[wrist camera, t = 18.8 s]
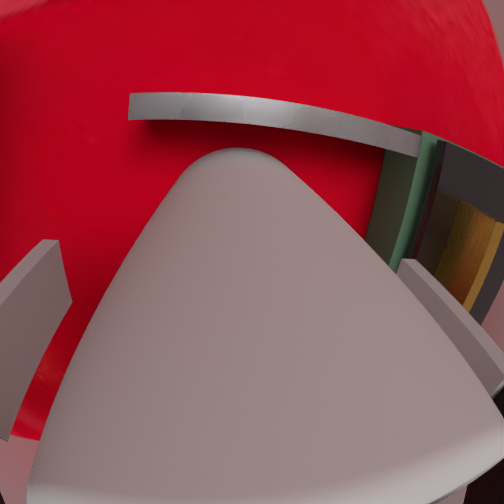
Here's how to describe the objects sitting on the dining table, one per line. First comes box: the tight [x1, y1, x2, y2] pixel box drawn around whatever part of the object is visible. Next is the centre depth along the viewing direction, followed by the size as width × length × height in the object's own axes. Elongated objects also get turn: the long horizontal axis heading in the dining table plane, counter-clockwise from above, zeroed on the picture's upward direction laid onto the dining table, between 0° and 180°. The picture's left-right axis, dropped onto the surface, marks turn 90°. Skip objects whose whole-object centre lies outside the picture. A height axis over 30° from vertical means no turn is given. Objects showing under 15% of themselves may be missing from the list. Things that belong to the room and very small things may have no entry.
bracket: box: [128, 93, 423, 158], centre depth 15 cm, size 14×13×4 cm
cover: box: [407, 139, 504, 325], centre depth 14 cm, size 11×14×4 cm
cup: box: [26, 148, 504, 504], centre depth 10 cm, size 8×8×16 cm
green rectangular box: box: [364, 125, 504, 274], centre depth 17 cm, size 10×14×4 cm
